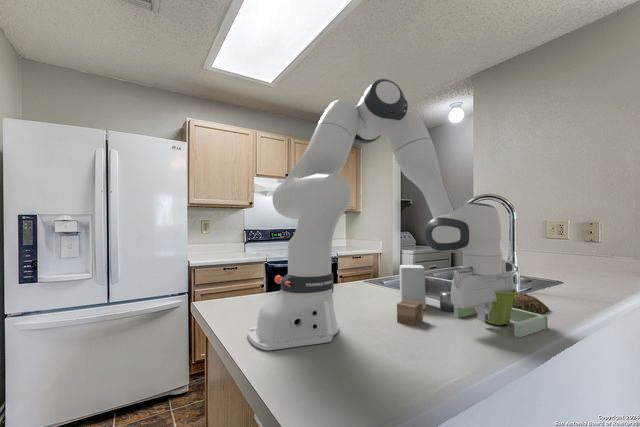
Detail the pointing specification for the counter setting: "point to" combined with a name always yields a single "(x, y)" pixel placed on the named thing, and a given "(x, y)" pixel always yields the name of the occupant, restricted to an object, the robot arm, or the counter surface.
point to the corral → (522, 327)
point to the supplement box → (412, 283)
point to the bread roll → (529, 304)
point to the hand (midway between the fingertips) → (483, 320)
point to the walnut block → (409, 312)
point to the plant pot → (502, 308)
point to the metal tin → (446, 302)
